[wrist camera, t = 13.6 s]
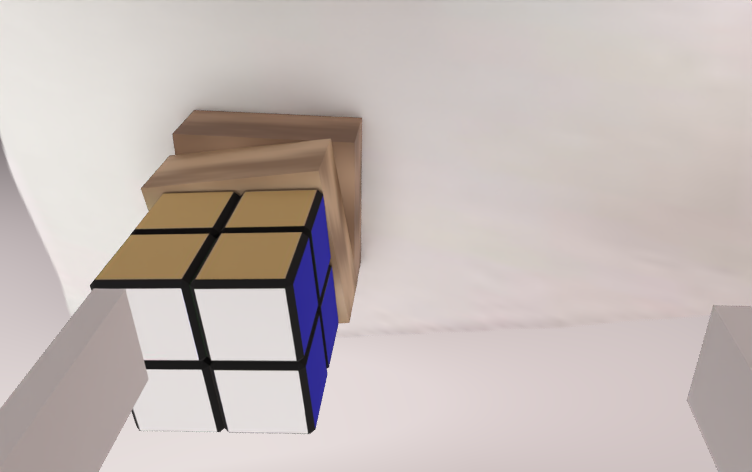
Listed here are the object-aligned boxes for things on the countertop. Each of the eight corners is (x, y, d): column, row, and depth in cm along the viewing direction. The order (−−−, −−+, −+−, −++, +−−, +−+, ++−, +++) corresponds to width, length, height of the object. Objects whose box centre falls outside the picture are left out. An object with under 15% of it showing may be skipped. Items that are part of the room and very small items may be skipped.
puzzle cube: (339, 323, 45) (315, 438, 36) (193, 323, 46) (135, 435, 37) (323, 186, 40) (290, 281, 31) (159, 190, 41) (83, 283, 32)
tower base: (196, 108, 48) (172, 133, 44) (362, 115, 48) (354, 142, 43) (213, 250, 54) (194, 285, 50) (361, 259, 54) (354, 295, 49)
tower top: (169, 155, 45) (140, 188, 41) (330, 138, 43) (318, 170, 39) (212, 291, 50) (191, 332, 46) (357, 280, 49) (349, 322, 44)
